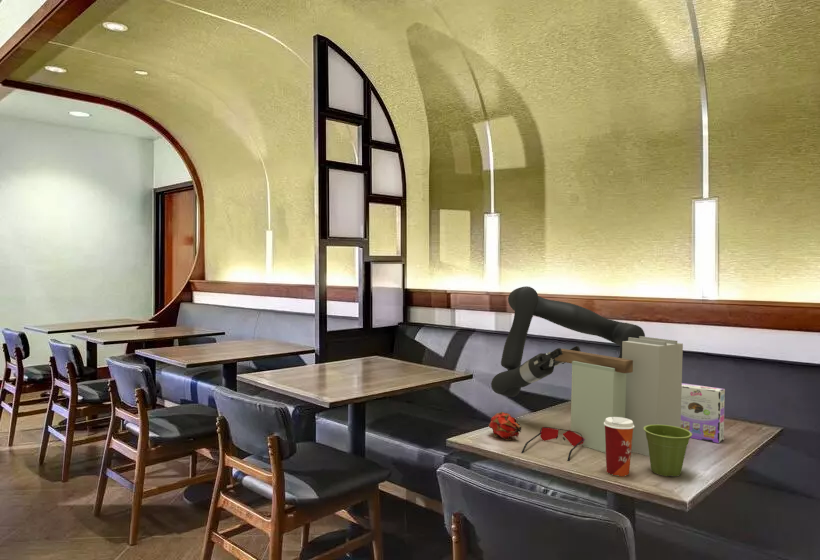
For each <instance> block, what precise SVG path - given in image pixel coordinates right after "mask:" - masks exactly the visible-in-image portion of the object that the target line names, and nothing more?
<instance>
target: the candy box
mask: <svg viewBox="0 0 820 560" xmlns="http://www.w3.org/2000/svg"><path fill="white" fill-rule="evenodd" d="M725 392H726V389H725V388H720V387H715V386H714V387H713V386H712V387H711V386H706V385H705V386H704V385H699V384H693V383H692V384H690V383H683V382H682V394H681V428H683V429H686V430H688V431H690V432H691V433H692V436H691V437H690V438H689V439H695V440H700V441H706V442H710V443H717V444H720V443H721V442H722V440H723V441H724V439H725V402H726V401H725V400H726V399H725V397H726V393H725Z"/></svg>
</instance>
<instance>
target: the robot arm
mask: <svg viewBox="0 0 820 560" xmlns="http://www.w3.org/2000/svg"><path fill="white" fill-rule="evenodd" d="M507 298H508V299H507V303H508V306H509V308H511V310H513V311H514V314H513V315H514V316H513V320H512V324H511V326H510V330H509V332H508V335H507V336H506V339H505V343H504V345H503V350H502V354H501V361H500V365H501V367H503V368H504V369H506V370H504V371H501V372H499V373H497V374H495V376H493V378H492V379H491V383H490V387H491V389H492V391H493V392H494V393H495V394H498V395H502V396H506V397H512V398H514V397H516V396H518V394H520V392H521V389H522V388H525V387H527V386H529V385H531V384H533V383H535V382H538V381H540V380H542V379H544V378H546V377H548V376H550V375H552V374H553V372H554V370H555V369H554V368H555V367H558V366H559V365H564V364H565V363H566V362H561V361H555V358H557V357H559V356H560V355H562V354H563V353H562V350H561V349H562V348H561V347H557V348H556V350H555V349H554V350H552V351H548V352H547V353H546V352H544V353H542V352H541V353H538V354H537V355H534V356H532V357H531V358H529V359H528V360H526V361H525V362H524V363H522V360H523V356H524V351H525V346H526V340H527V336H528V332H529V330H530V325H531V322H532V320H533V317H538V318H541V319H544V320H545V321H548V322H550V323H553V324H556V325H558V326H561V327H563V328H565V329H568V330H571V331H574V332H577V333H580V334H585V335H589V336H596V337H599V338H602V339H604V340H607V341H609V342H611V343H613V344H615V345H617V346H619V347H620V349H619V355H618V357H617V358H622V341H628V338H629V337H631V338H639V336H642V337H646V334H645V331H644V329H643V328H642V327H641V326H639V325H637V324H634V323H628V322H623V321H618V320H614V319H610V318H606V317H603V316H602V315H599V314H598V313H597V312H594V311H593V310H590V309H588V308H586V307H582V306H580V305H577V304H574V303H572V302H571V303H570V302H565V301H559V300H553V299H548V298H544V297H542V296H540V295H539V294H538V292H537V291H536V289H535V288H533V287H532V286H520V287H518V288H515V289H513V290H512V291H511V292H510V293H509V294H508V297H507ZM569 350H573V351H579V352H582V351H581V349H580V347H579V345H577V346H574V347H572V348H570V349H569Z"/></svg>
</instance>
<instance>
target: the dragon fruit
mask: <svg viewBox="0 0 820 560" xmlns="http://www.w3.org/2000/svg"><path fill="white" fill-rule="evenodd" d="M488 428H490V429H491V430H492V433H493V436H494V437H500V438H502V439H504V440H505V441H512V440H513V439H512V438H511V437H516V438H517V437H519V435H520V433H522V431H521V430H522V426H521V424H520V423H519V421H518V420H517V418H515V417H513V416H512V415H511V414H510V413H508V412H503V411H500V412H496V413H495V414H494V415H493V416H492V417H491V418H490V421H489V424H488Z"/></svg>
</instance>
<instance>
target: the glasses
mask: <svg viewBox="0 0 820 560" xmlns="http://www.w3.org/2000/svg"><path fill="white" fill-rule="evenodd" d="M559 431H565V432H564V433H562V436H563V437H562V439H563V441H564V442H565V441H566V440H567V441H568V443H569V444H570V445H571V446H572V445H573V447H572V448H571V449H570V451H569V453H568V456H567V461H569V462H570V461H571V459H570V458H571V455H572V452H573V451H574V450H575V449H576V448H578V446H581V445H580V444H583V441H584V438H583V437H581V436H582V435H581V434H580V433H579V434H580V435H581V436H579V435H578V434H576V433H578V432H576V433H574V432H575V431H571V429H562V428H561V429H560V428H555V427H549V426H542V427H541V429H540V430H539V433H538V434H536V435H535V436H533V437H532V438H530V439H529V440H528V441H526V442H525V444H524V446H523V448H522V449H521V454H524V452H525V450H526V448H527V446H528V445H529V443H531V442H532V441H533V440H535V439H536V438H537V437H540V438H541V440H542V441H543V440H544V441H549V440H550V441H551V440H554V439H556V440H557V439H558V438H559ZM567 461H566V462H567Z"/></svg>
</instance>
